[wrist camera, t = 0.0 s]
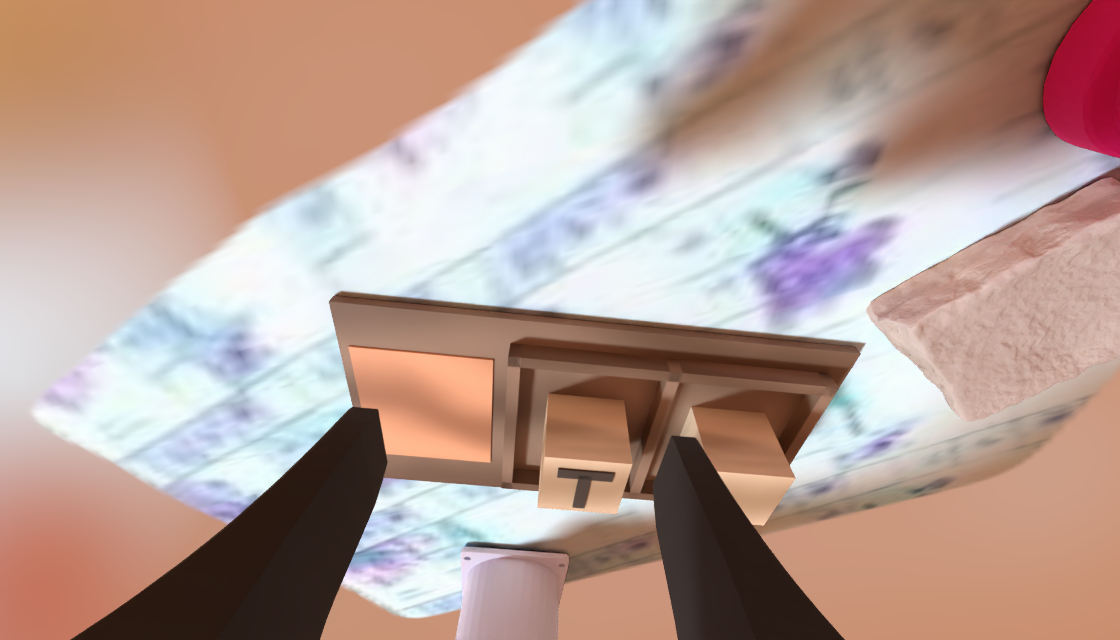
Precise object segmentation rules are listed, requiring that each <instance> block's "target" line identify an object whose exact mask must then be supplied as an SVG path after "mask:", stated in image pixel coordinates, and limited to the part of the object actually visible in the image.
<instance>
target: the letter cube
mask: <svg viewBox="0 0 1120 640" xmlns="http://www.w3.org/2000/svg"><path fill="white" fill-rule="evenodd" d="M631 467H632V457H631V449H630V442H629V434H628V427H627V419H626V411H625V404H624V400H614V399H603V398H592V397H581V396H570V395H559V394H548V399H547V407H546V415H545V423H544V431H543V439H542V450H541V465H540V480H539V495H538V508H549V509H561V510H574V511H586V512H599V513H611V514H617V512H618V508H619V505H620V502H621V499H622V496H623V493H624V489H625V486H626V483H627V480H628V477H629V474H630V470H631Z"/></svg>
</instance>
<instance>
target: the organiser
mask: <svg viewBox="0 0 1120 640" xmlns="http://www.w3.org/2000/svg"><path fill="white" fill-rule="evenodd" d="M329 304H330V309H331V313H332V317H333V322H334V326H335V330H336V335H337V339H338V344H339V348H340V352H341V357H342V361H343V365H344V370H345V374H346V379H347V383H348V387H349V392H350V396H351V401H352V405H353V407H361V408H372V409H378V411H379V417H380V422H381V428H382V433H383V439H384V445H385V450H386V456H387V461H388V463H387V467H386V470H385V474H384V477H383V478H394V479H406V480H418V481H431V482H443V483H455V484H468V485H480V486H492V487H501V488H506V489H518V490H530V491H539V480H540V465H541V450H542V439H543V431H544V423H545V415H546V407H547V399H548V394H559V395H570V396H581V397H592V398H603V399H614V400H624V404H625V411H626V419H627V427H628V434H629V442H630V449H631V457H632V467H631V470H630V474H629V477H628V480H627V483H626V486H625V489H624V493H623V496H622V498H629V499H641V500H653V501H654V495H653V483H654V480H655V478H656V475H657V472H658V470H659V467H660V464H661V462H662V459H663V456H664V454H665V451H666V448H667V446H668V443H669V441H670V438H671V435H673V436H680V434H681V432H682V429H683V427H684V424H685V421H686V419H687V416H688V414H689V411H690V409H691V407H702V408H713V409H724V410H735V411H746V412H757V413H765V414H766V416H767V419H768V421H769V423H770V425H771V427H772V429H773V431H774V433H775V436H776V438H777V440H778V442H779V444H780V446H781V448H782V451H783V453H784V455H785V457H786V459H787V461H788V463H789V465H790V464H791V462H792V461H793V459H794V458H795V456H796V455H797V453H798V451H799V450H800V448H801V447H802V445H803V444H804V442H805V440H806V439H807V437H808V436H809V434H810V433H811V431H812V430H813V428H814V426H815V425H816V423H817V422H818V420H819V419H820V417H821V415H822V414H823V412H824V411H825V409H826V408H827V406H828V405H829V403H830V401H831V400H832V398H833V397H834V395H835V394H836V392H837V390H838V389H839V387H840V385H841V384H842V382H843V381H844V379H845V378H846V376H847V375H848V373H849V371H850V370H851V368H852V367H853V365H854V364H855V362H856V360H857V359H858V357H859V356H860V354H861V353H860V352H859V351H858V350H857V349H856V347H848V346H838V345H828V344H818V343H808V342H798V341H787V340H777V339H767V338H757V337H747V336H737V335H727V334H716V333H706V332H696V331H686V330H676V329H666V328H656V327H646V326H635V325H625V324H615V323H605V322H595V321H585V320H575V319H564V318H554V317H544V316H534V315H524V314H514V313H504V312H493V311H483V310H473V309H463V308H453V307H443V306H433V305H422V304H412V303H402V302H392V301H382V300H372V299H362V298H351V297H341V296H333V297H332V298H331V300H330V301H329Z"/></svg>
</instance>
